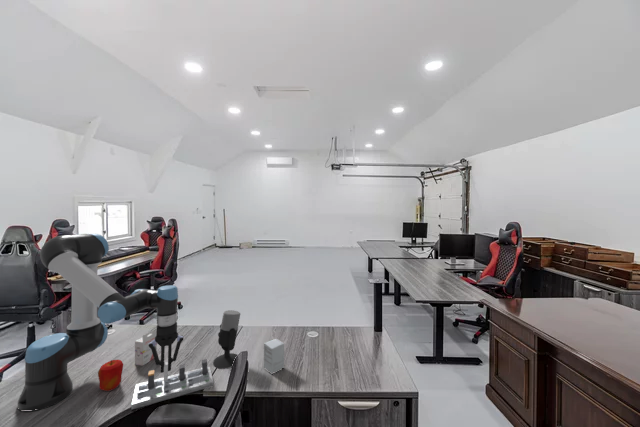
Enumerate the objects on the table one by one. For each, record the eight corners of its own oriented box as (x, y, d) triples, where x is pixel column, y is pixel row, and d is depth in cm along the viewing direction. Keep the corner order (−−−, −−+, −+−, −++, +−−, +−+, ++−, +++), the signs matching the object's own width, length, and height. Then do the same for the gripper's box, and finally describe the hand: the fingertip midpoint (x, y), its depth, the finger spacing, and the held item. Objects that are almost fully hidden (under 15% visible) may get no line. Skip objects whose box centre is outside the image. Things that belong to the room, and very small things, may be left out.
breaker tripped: (146, 392, 105) (146, 375, 105) (147, 388, 107) (147, 371, 107) (155, 390, 106) (155, 373, 106) (155, 385, 109) (155, 369, 109)
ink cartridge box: (148, 355, 135) (149, 327, 135) (156, 356, 134) (157, 328, 134) (133, 364, 126) (134, 334, 126) (142, 366, 125) (143, 336, 125)
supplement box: (275, 362, 131) (276, 337, 131) (284, 369, 126) (284, 343, 126) (262, 368, 126) (263, 342, 126) (271, 375, 120) (272, 348, 120)
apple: (106, 381, 114) (106, 355, 114) (127, 380, 115) (128, 353, 115) (92, 395, 105) (93, 366, 105) (115, 393, 106) (116, 365, 106)
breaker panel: (131, 409, 98) (131, 400, 98) (135, 389, 109) (136, 380, 109) (213, 386, 112) (213, 377, 112) (209, 370, 124) (209, 362, 124)
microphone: (245, 361, 132) (246, 312, 132) (220, 372, 122) (221, 319, 122) (232, 351, 140) (233, 305, 140) (208, 361, 131) (209, 312, 131)
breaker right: (200, 377, 114) (201, 363, 114) (200, 374, 117) (200, 360, 117) (208, 376, 116) (208, 361, 116) (207, 372, 118) (207, 358, 118)
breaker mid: (177, 384, 110) (178, 369, 110) (177, 380, 113) (178, 365, 113) (185, 382, 111) (186, 367, 111) (185, 378, 114) (185, 363, 114)
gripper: (147, 329, 103) (146, 389, 103) (184, 323, 109) (183, 379, 109) (149, 322, 109) (148, 378, 109) (184, 317, 116) (182, 369, 116)
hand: (165, 378), depth 109 cm, fingers closed
